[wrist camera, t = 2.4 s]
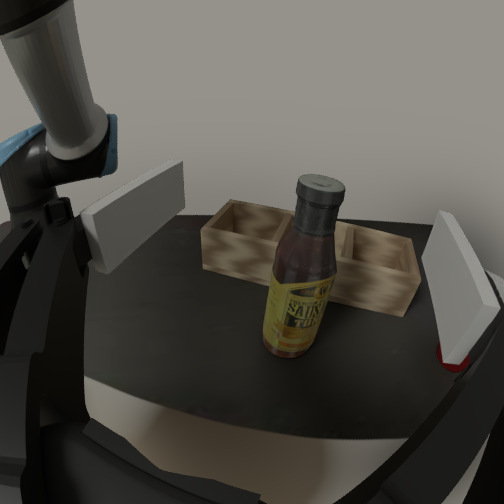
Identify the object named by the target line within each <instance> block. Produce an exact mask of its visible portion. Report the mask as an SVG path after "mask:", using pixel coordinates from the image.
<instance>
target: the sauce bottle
mask: <svg viewBox="0 0 504 504" xmlns="http://www.w3.org/2000/svg"><path fill="white" fill-rule="evenodd" d="M296 194H297V196H298V199H297V205H296V212H295V216H294V218H293V226H292V227H291V228H290V229H289V230H288V231H287V232H286V234H284V235H283V237H282V238H281V239H280V241H279V243H278V245H277V248H276V253H275V260H274V264H273V267H272V273H271V279H270V286H269V292H268V298H267V304H266V311H265V317H264V323H263V335H262V336H263V341H264V345H265V346H266V348H267V349H268V350H269V351H270V352H271V353H272V354H274V355H276V356H279V357H282V358H296V357H298V356H301V355H302V354H304V353H305V352H306V351H307V350H308V349H309V347H310V346H311V344H312V343H313V341H314V339H315V336H316V333H317V331H318V328H319V325H320V322H321V319H322V316H323V313H324V311H325V308H326V305H327V302H328V299H329V296H330V292H331V289H332V286H333V283H334V280H335V277H336V273H337V265H336V255H335V237H334V232H335V228H336V225H335V224H336V220H337V216H338V211H339V207H340V205H341V204H342V202H343V200H344V194H345V186H344V185H343V184H342V183H341V182H340V181H338V180H336V179H333V178H330V177H327V176H322V175H315V174H308V175H302V176H300V177H299V179H298V183H297V188H296Z"/></svg>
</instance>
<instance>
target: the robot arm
mask: <svg viewBox="0 0 504 504" xmlns="http://www.w3.org/2000/svg"><path fill="white" fill-rule="evenodd" d="M0 39H1V42H2V44H3V46H4V49H5V51H6V53H7V55H8V58H9V60H10V62H11V64H12V66H13V68H14V70H15V73H16V74H17V77H18V78H19V81H20V83H21V85H22V86H23V89H24V90H25V92H26V94H27V96H28V98H29V100H30V102H31V104H32V105H33V107H34V109H35V111H36V113H37V114H38V116H39V118H40V120H41V121H42V123H40V124H38V125H35V126H33V127H30V128H28V129H26V130H24V131H23V132H20V133H18V134H16V135H14V136H13V137H11V138H9V139H7V140H5V141H4V142H3V143H1V144H0V179H1V183H2V187H3V191H4V194H5V198H6V202H7V205H8V208H9V212H10V221H11V232H10V233H9V234H8V235H7V237H6V238H5V239H4V240H3V241H2V242H1V244H0V504H266V503H264V502H263V501H261V500H259V498H260V494H257V493H253V492H250V491H246V490H243V489H240V488H236V487H233V486H230V485H227V484H224V483H221V482H219V481H216V480H213V479H205V478H199V477H193V476H187V475H182V474H177V473H171V472H167V471H163V470H161V469H159V468H158V467H156V466H155V465H154V464H152V463H151V462H150V461H149V460H148V459H147V458H146V457H145V456H143V455H142V454H141V453H140V452H139V451H138V450H137V449H136V448H135V447H134V446H132V445H131V444H130V443H129V442H128V441H127V440H126V439H125V438H124V437H122V436H120V435H118V434H117V433H115V432H113V431H112V430H110V429H109V428H107V427H105V426H104V425H102V424H101V423H99V422H98V421H96V420H95V419H93V418H90V416H89V413H88V411H87V409H86V405H85V394H84V324H85V308H86V295H87V285H88V276H89V267H88V264H87V263H88V262H89V261H90V260H91V259H93V263H94V266H95V269H96V270H97V271H99V272H102V273H105V274H107V275H108V274H109V273H111V272H112V271H113V270H114V269H115V268H116V267H117V266H118V265H119V264H120V263H121V262H122V261H123V260H125V259H126V258H127V257H128V256H129V255H130V254H131V253H132V252H133V251H135V250H136V249H137V248H138V247H139V246H140V245H141V244H142V243H144V242H145V241H146V240H147V239H148V238H149V237H150V236H152V235H153V234H154V233H155V232H156V231H157V230H159V229H160V228H161V227H162V226H163V225H164V224H166V223H167V222H168V221H169V220H170V219H172V218H173V217H174V216H175V215H176V214H177V213H179V212H180V211H181V210H182V209H184V208H185V198H184V181H183V161H178V160H177V161H176V160H169V161H168V162H166V163H164V164H162V165H160V166H158V167H156V168H154V169H152V170H150V171H148V172H147V173H145V174H143V175H141V176H139V177H138V178H136V179H134V180H132V181H130V182H129V183H127V184H125V185H124V186H122V187H120V188H118V189H116V190H115V191H113V192H111V193H110V194H108V195H106V196H105V197H103V198H102V199H100V200H98V201H97V202H95V203H94V204H92V205H90V206H89V207H87V208H86V209H84V210H83V211H81V212H80V215H78V216H77V217H75V218H74V215H73V211H72V207H71V203H70V199H69V198H68V197H61V198H59V197H58V195H57V192H56V187H55V186H57V185H62V184H66V183H71V182H76V181H80V180H85V179H90V178H95V177H98V178H101V177H102V176H105V175H109V174H113V173H114V172H115V171H116V170H117V166H118V165H117V164H118V162H117V161H118V160H117V159H118V157H117V116H116V115H115V114H106V113H105V111H104V110H103V109H102V108H101V107H100V106H99V105H97V104H95V103H94V101H93V98H92V94H91V90H90V86H89V82H88V78H87V74H86V69H85V65H84V60H83V56H82V51H81V46H80V41H79V35H78V30H77V24H76V17H75V11H74V3H73V0H0ZM23 255H25V258H26V260H27V263H28V265H29V267H28V269H27V270H26V268H25V267H24V264H23V262H22V257H23ZM422 262H423V265H424V269H425V273H426V277H427V280H428V284H429V289H430V293H431V297H432V302H433V306H434V311H435V316H436V321H437V327H438V332H439V338H440V345H441V351H442V359H443V363H450V364H457V365H460V363H461V362H462V361H463V360H464V359H465V357H466V356H467V355H468V354H469V359H470V363H469V365H468V366H467V367H466V368H465V369H464V370H463V371H462V373H461V374H460V375H459V376H458V377H457V378H456V379H455V380H454V382H455V384H454V385H453V386H452V388H451V389H450V390H449V392H448V393H447V394H446V396H445V397H444V398H443V400H442V401H441V402H440V403H439V405H438V406H437V407H436V408H435V409H434V411H433V412H432V413H431V414H430V415H429V417H428V418H427V419H426V420H425V421H424V422H423V424H422V425H421V426H420V427H419V428H418V429H417V430H416V431H415V432H414V433H413V435H412V436H411V437H410V438H409V439H408V440H407V441H406V442H405V443H404V444H403V445H402V446H401V447H400V448H399V449H398V450H397V451H396V452H395V453H394V454H393V455H392V456H391V457H390V458H389V459H388V460H387V461H385V462H384V463H383V464H382V465H381V466H380V467H379V468H378V469H377V470H376V471H374V472H373V473H372V474H371V475H370V476H369V477H367V478H366V479H365V480H364V481H363V482H361V483H360V484H359V485H358V486H356V487H355V488H354V489H353V490H352V491H350V492H349V493H348V494H346V495H345V496H343V497H342V498H341V499H339V500H338V501H336V502H335V503H333V504H441V503H442V502H443V501H444V500H445V499H446V497H447V496H448V495H449V493H450V492H451V491H452V490H453V488H454V487H455V486H456V484H457V483H458V482H459V480H460V479H461V478H462V476H463V474H464V473H465V472H466V470H467V469H468V467H469V466H470V464H471V463H472V461H473V460H474V458H475V456H476V455H477V454H478V452H479V450H480V449H481V447H482V445H483V444H484V442H485V440H486V438H487V437H488V435H489V433H490V436H489V439H488V442H487V445H486V448H485V451H484V453H483V456H482V459H481V462H480V464H479V467H478V469H477V472H476V474H475V477H474V479H473V482H472V484H471V486H470V489H469V490H468V493H467V495H466V497H465V499H464V501H463V503H462V504H504V303H503V300H502V298H501V296H500V294H499V291H498V289H497V287H496V285H495V283H494V281H493V279H492V278H491V276H490V275H489V274H488V273H487V272H486V271H485V270H483V268H482V266H481V264H480V262H479V260H478V258H477V256H476V255H475V253H474V251H473V249H472V247H471V245H470V243H469V242H468V240H467V238H466V236H465V235H464V233H463V231H462V230H461V228H460V227H459V225H458V223H457V221H456V220H455V218H454V217H453V215H452V214H451V213H447V212H444V211H441V210H439V211H438V214H437V217H436V220H435V223H434V226H433V229H432V232H431V234H430V237H429V240H428V242H427V245H426V248H425V250H424V253H423V255H422ZM490 431H491V432H490Z"/></svg>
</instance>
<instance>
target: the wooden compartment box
mask: <svg viewBox="0 0 504 504" xmlns="http://www.w3.org/2000/svg"><path fill="white" fill-rule="evenodd" d="M294 216H295V212H293V211H288V210H283V209H278V208H273V207H268V206H263V205H258V204H253V203H247V202H242V201H236V200H231V199H230V200H229V201H228V203H226V204H225V205H224V206H223V207H222V208H221V209H220V210H219V211H218V212H217V213H216V214H215V215H214V216H213V217H212V218H211V219H210V220H209V222H208V223H207V224H206V225H205V226H204V227H203V228H202V229H201V246H202V262H203V269H205V270H209V271H213V272H216V273H220V274H224V275H228V276H231V277H235V278H239V279H243V280H247V281H251V282H255V283H259V284H262V285H266V286H270V279H271V273H272V267H273V264H274V260H275V253H276V248H277V245H278V243H279V241H280V239H281V238H282V237H283V235H284V234H286V232H287V231H288V230H289V229H290V228H291V227H292V226H293V218H294ZM335 225H336V228H335V232H334V237H335V255H336V265H337V273H336V277H335V280H334V283H333V286H332V289H331V292H330V296H329V299H328V301H332V302H336V303H341V304H345V305H349V306H354V307H358V308H363V309H367V310H372V311H376V312H381V313H385V314H390V315H394V316H399V317H403V316H404V314H405V312H406V310H407V308H408V306H409V304H410V302H411V300H412V298H413V296H414V294H415V292H416V290H417V288H418V286H419V284H420V282H421V277H420V272H419V268H418V264H417V260H416V256H415V252H414V248H413V245H412V241H411V239H409V238H406V237H402V236H398V235H394V234H390V233H386V232H382V231H378V230H374V229H370V228H365V227H361V226H357V225H353V224H348V223H344V222H340V221H336V224H335Z"/></svg>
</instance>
